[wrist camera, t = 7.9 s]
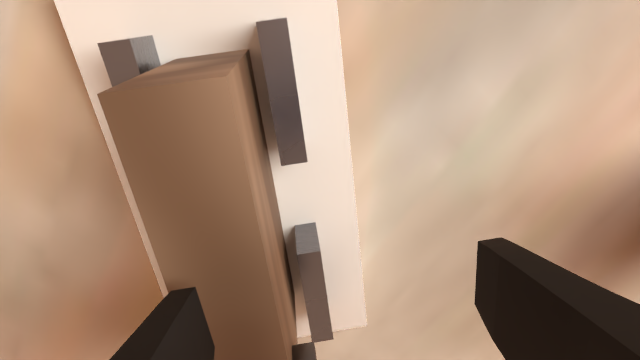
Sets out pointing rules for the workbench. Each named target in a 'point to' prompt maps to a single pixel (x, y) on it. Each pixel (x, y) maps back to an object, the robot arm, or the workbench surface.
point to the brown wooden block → (210, 198)
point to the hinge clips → (273, 34)
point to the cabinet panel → (315, 106)
